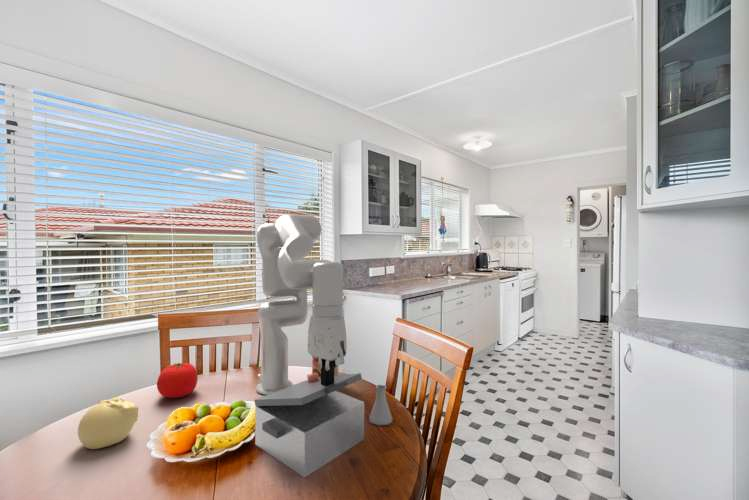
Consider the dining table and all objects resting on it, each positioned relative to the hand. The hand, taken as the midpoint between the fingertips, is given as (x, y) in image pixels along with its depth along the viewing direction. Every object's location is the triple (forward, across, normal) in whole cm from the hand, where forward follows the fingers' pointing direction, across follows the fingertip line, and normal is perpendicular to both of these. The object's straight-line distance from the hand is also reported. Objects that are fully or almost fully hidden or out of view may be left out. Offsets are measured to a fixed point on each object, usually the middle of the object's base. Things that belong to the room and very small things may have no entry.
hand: (327, 383), depth 86 cm
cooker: (+17, -7, 0) cm, 18 cm away
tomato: (+17, -64, -11) cm, 67 cm away
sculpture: (+17, -48, -34) cm, 61 cm away
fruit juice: (+17, -30, +26) cm, 43 cm away
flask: (+17, 0, +21) cm, 27 cm away
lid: (+4, -6, 0) cm, 7 cm away
